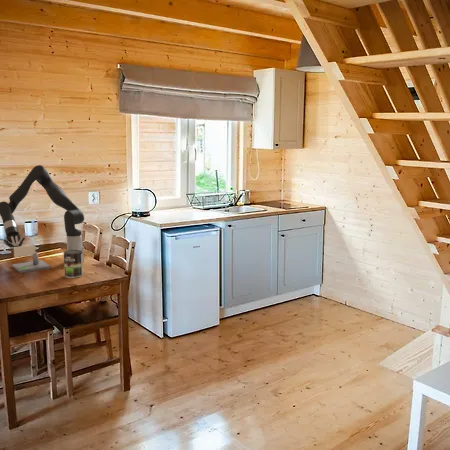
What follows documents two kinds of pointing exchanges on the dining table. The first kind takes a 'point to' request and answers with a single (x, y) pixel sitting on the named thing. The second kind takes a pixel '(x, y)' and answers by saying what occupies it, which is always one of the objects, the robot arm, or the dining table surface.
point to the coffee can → (73, 263)
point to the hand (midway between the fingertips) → (17, 252)
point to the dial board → (30, 266)
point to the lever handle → (26, 252)
